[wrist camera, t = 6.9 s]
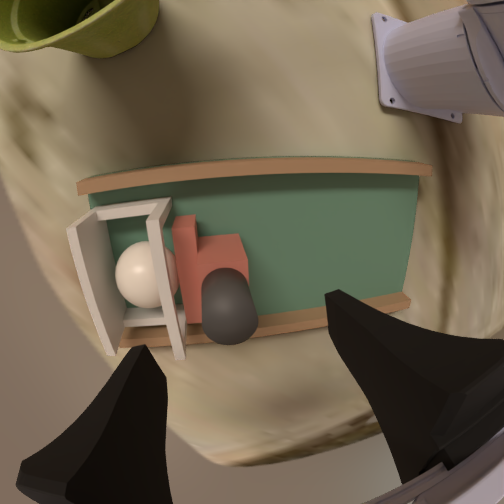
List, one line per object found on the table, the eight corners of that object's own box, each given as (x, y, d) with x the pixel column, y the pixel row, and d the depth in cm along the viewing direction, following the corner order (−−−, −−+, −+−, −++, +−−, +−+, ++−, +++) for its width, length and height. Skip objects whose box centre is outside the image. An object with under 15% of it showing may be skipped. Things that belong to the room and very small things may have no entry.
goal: (171, 196, 17) (158, 219, 12) (187, 310, 20) (185, 359, 15) (95, 206, 16) (61, 232, 11) (121, 315, 19) (105, 362, 15)
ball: (99, 246, 15) (153, 227, 18) (114, 303, 17) (162, 281, 20) (126, 264, 13) (189, 239, 16) (143, 330, 14) (197, 301, 17)
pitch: (412, 160, 19) (432, 165, 17) (394, 293, 24) (409, 307, 22) (91, 176, 16) (76, 182, 14) (126, 327, 21) (119, 347, 19)
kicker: (237, 209, 17) (257, 255, 11) (242, 295, 20) (261, 368, 13) (176, 215, 17) (159, 265, 10) (188, 301, 19) (185, 376, 13)
